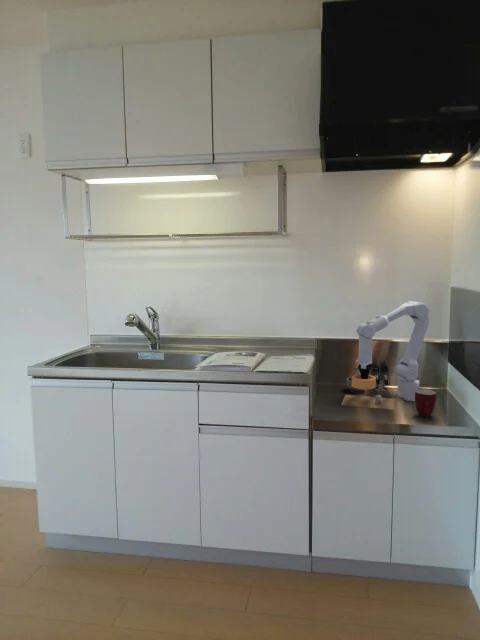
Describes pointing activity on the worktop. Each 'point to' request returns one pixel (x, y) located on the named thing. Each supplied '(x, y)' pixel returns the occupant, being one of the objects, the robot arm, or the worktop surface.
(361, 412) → the worktop surface
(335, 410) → the worktop surface
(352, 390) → the mortar and pestle
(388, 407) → the shelf plate
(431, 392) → the mug
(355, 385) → the orange notched ring
